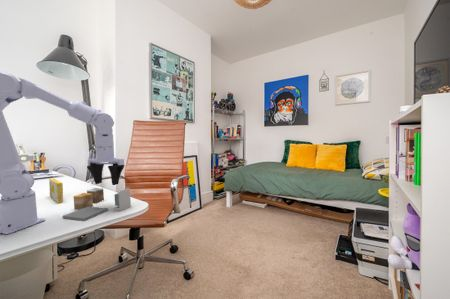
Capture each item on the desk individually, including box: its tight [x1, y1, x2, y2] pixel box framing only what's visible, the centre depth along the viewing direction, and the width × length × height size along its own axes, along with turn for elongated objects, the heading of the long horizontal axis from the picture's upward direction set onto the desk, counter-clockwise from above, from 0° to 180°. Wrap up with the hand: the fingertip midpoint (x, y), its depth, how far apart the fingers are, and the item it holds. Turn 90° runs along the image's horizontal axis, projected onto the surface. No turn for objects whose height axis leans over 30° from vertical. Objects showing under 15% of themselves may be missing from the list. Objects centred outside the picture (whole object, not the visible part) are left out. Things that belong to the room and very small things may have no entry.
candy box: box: [48, 178, 64, 204], centre depth 86 cm, size 16×2×8 cm, turn 50°
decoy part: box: [86, 187, 105, 204], centre depth 82 cm, size 4×4×5 cm
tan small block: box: [73, 192, 94, 211], centre depth 75 cm, size 4×4×5 cm
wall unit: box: [113, 187, 132, 212], centre depth 73 cm, size 5×3×7 cm, turn 165°
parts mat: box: [62, 206, 109, 222], centre depth 68 cm, size 9×9×1 cm
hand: (106, 184), depth 74 cm, fingers open, 7 cm apart
